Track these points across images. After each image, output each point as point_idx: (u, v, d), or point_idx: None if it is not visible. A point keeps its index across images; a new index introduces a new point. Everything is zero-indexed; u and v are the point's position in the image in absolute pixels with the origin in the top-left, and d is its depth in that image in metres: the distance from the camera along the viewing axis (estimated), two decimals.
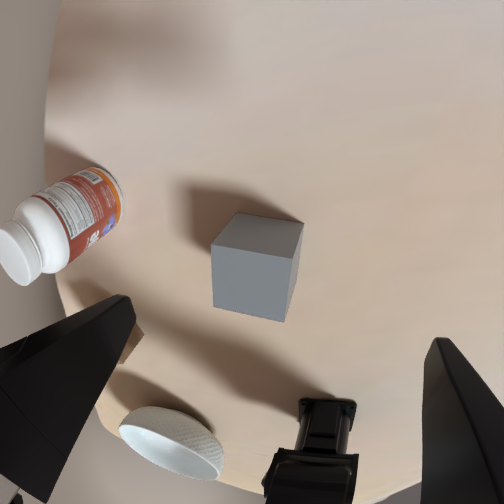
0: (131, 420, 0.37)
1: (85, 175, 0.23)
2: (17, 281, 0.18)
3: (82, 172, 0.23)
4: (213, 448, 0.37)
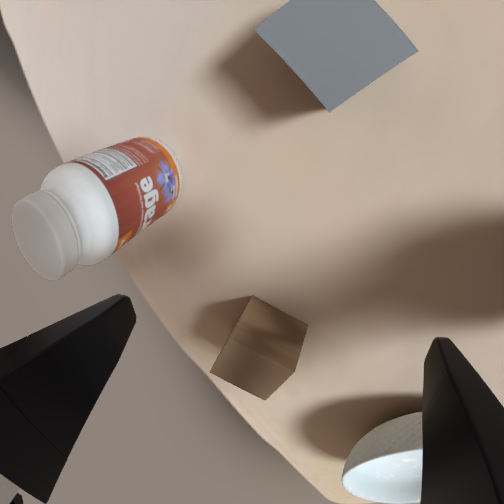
0: (353, 461, 0.23)
1: None
2: (56, 275, 0.14)
3: None
4: None
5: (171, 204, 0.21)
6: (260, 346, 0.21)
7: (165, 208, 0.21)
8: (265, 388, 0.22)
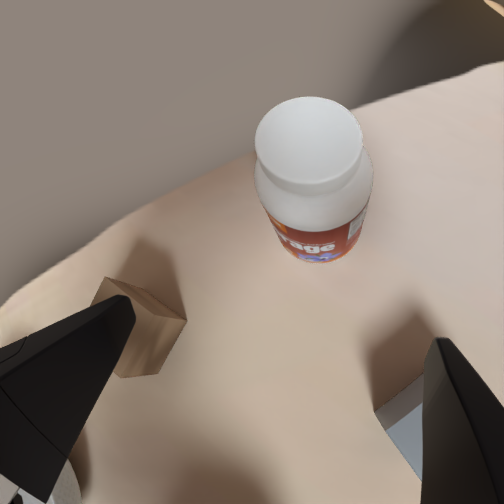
0: None
1: None
2: (265, 157, 0.13)
3: None
4: None
5: (292, 253, 0.21)
6: (143, 343, 0.19)
7: (291, 250, 0.20)
8: None
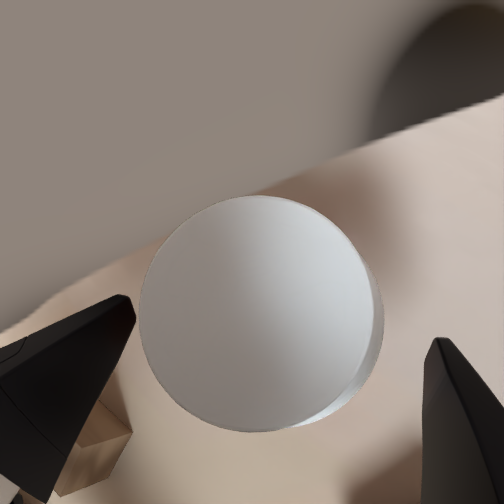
0: None
1: None
2: (154, 356, 0.06)
3: None
4: None
5: None
6: (77, 468, 0.12)
7: None
8: None
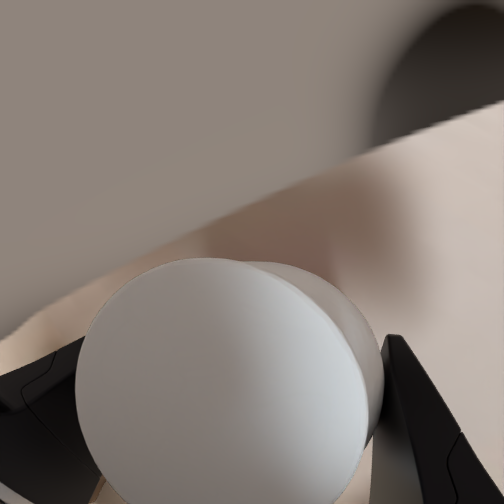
0: None
1: None
2: (96, 450, 0.04)
3: None
4: None
5: None
6: None
7: None
8: None
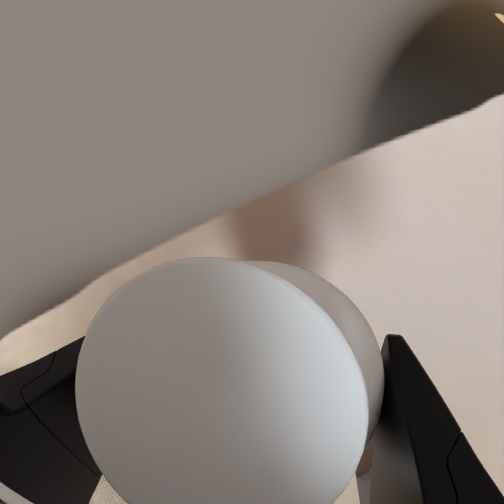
0: None
1: None
2: (96, 449, 0.04)
3: None
4: None
5: None
6: None
7: None
8: None
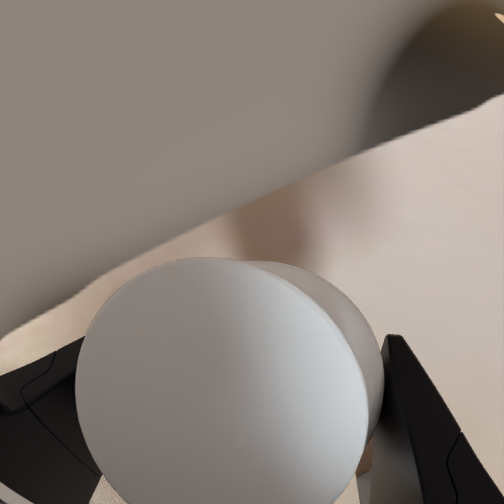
0: None
1: None
2: (96, 450, 0.04)
3: None
4: None
5: None
6: None
7: None
8: None
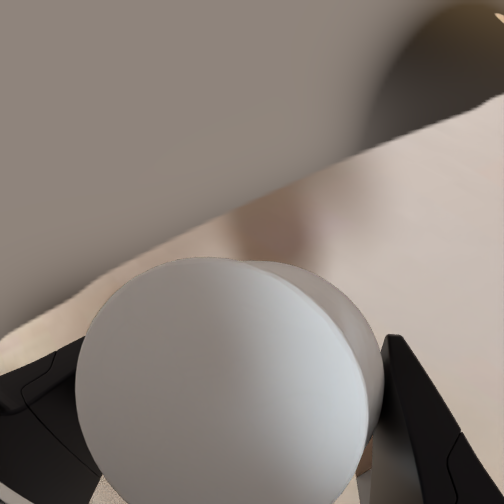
0: None
1: None
2: (96, 450, 0.04)
3: None
4: None
5: None
6: None
7: None
8: None
